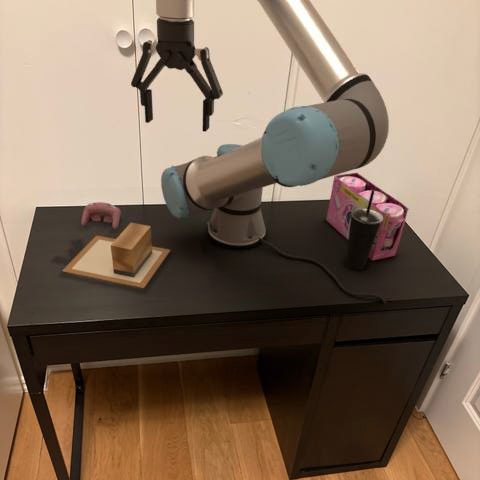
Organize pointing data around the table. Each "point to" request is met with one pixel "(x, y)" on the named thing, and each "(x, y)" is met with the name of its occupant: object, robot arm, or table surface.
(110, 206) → the video game controller
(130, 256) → the eraser
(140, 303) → the table surface
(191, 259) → the table surface
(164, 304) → the table surface
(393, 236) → the gum box
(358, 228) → the drinking cup
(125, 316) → the table surface
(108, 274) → the board
